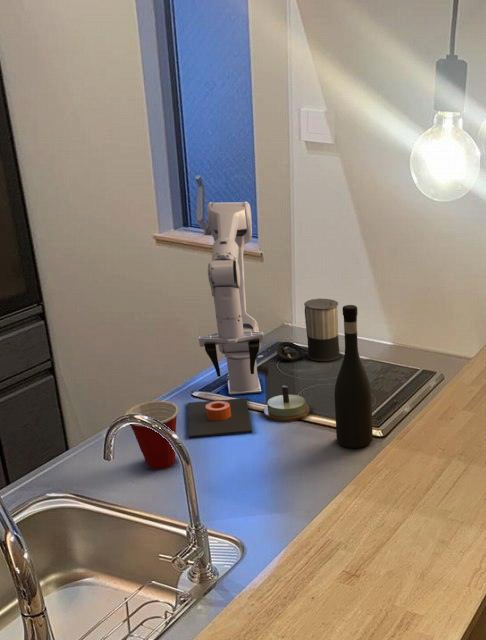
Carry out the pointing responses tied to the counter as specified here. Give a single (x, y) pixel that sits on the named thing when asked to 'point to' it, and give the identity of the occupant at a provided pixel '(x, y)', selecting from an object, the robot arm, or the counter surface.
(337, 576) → the counter surface
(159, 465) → the plastic cup
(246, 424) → the mat
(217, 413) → the ring
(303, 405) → the ring stand
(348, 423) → the wine bottle
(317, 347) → the milk frother
